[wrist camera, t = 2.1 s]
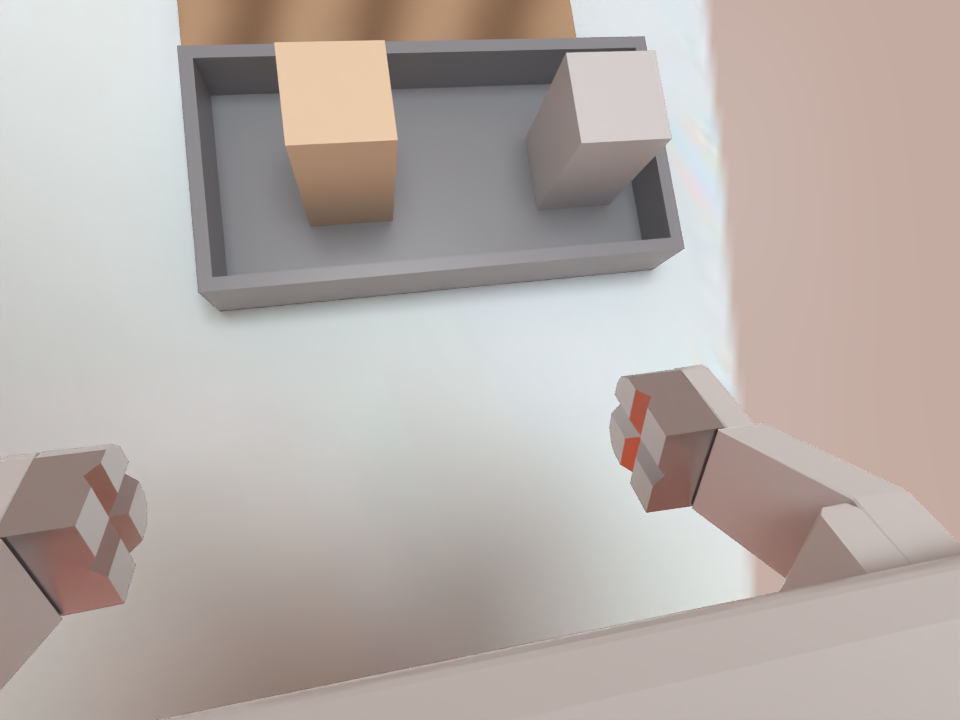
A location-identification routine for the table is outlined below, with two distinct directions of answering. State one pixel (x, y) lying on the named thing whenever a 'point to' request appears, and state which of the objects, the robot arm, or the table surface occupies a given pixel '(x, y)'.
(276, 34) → the pad
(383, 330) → the table surface
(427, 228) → the bin
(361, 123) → the labelled box
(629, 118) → the plain box
